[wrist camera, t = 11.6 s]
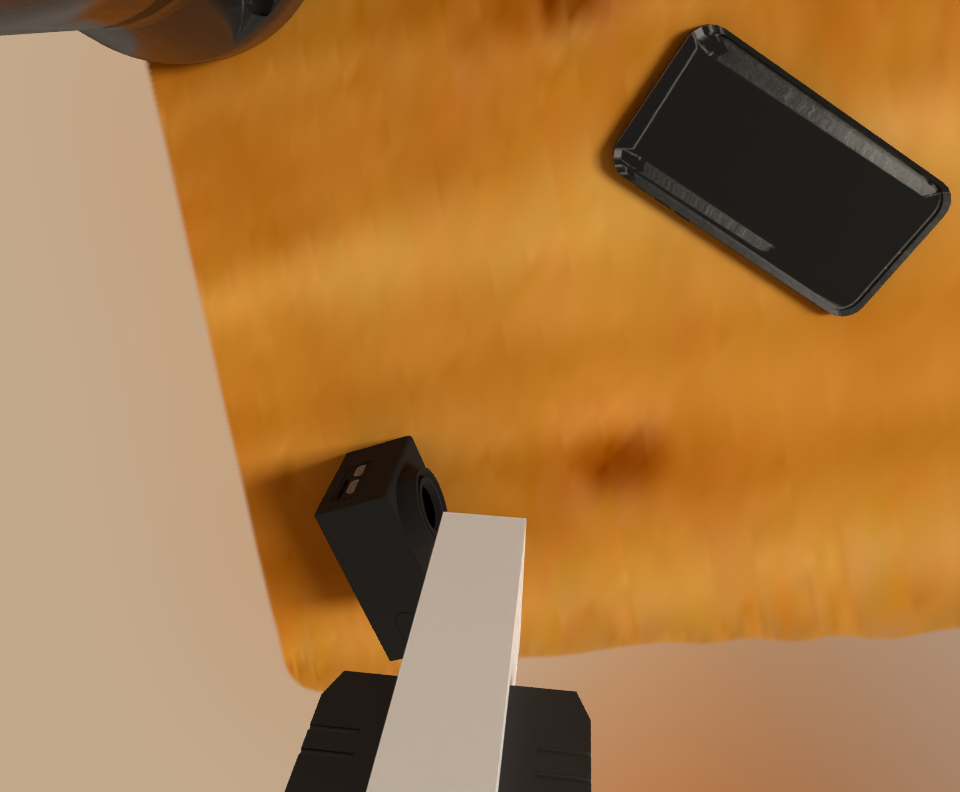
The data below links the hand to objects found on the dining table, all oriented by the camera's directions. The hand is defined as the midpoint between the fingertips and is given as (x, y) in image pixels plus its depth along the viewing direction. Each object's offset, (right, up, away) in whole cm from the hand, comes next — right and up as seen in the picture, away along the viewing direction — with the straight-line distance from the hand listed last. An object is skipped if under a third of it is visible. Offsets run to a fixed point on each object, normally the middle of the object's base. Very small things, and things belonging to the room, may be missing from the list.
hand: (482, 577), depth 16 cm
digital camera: (-4, -4, +36) cm, 37 cm away
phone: (+14, +14, +26) cm, 33 cm away
